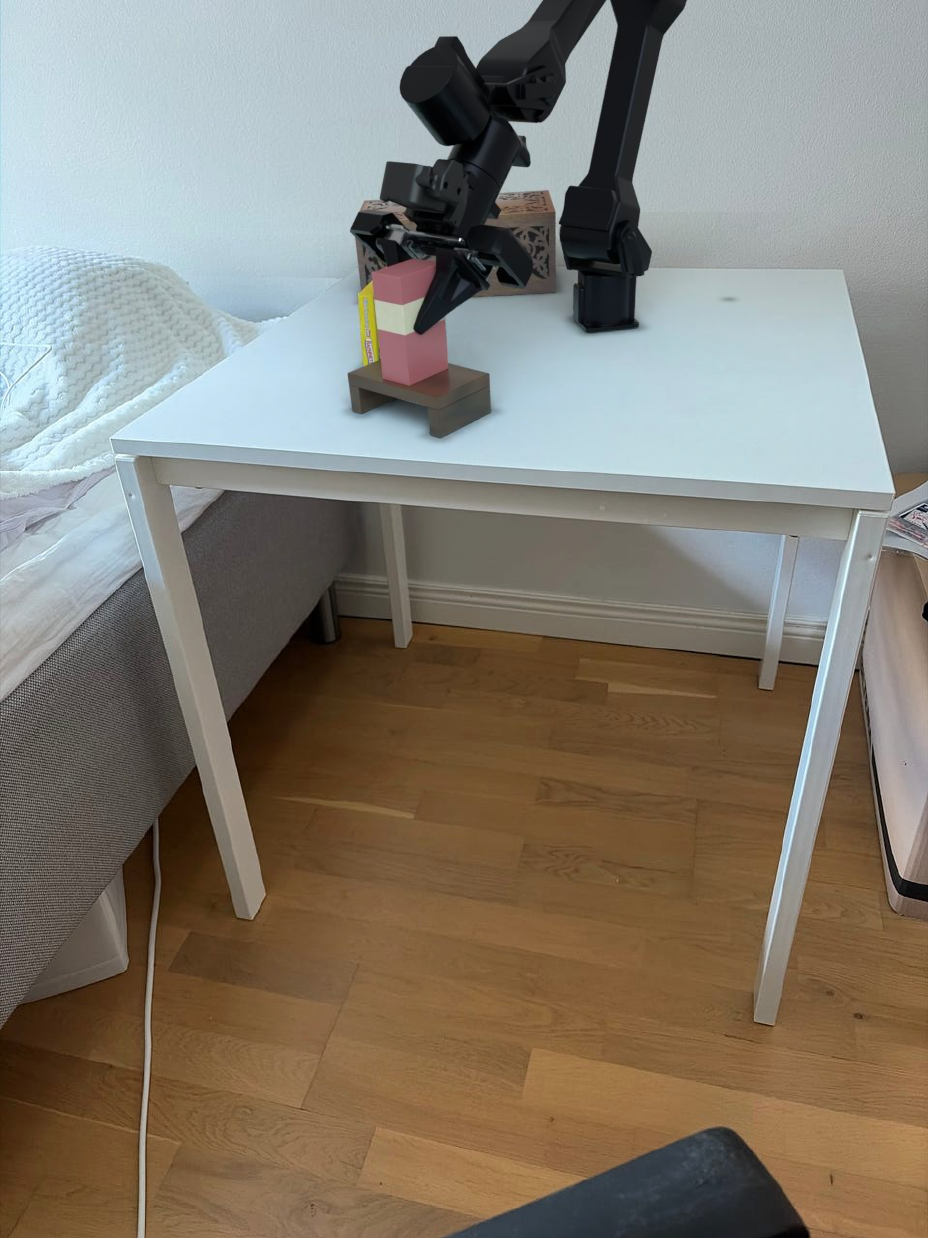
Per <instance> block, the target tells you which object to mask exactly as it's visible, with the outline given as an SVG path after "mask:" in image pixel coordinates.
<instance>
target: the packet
mask: <svg viewBox="0 0 928 1238" xmlns="http://www.w3.org/2000/svg"><path fill="white" fill-rule="evenodd" d="M435 272H436V262H432V261H426V260H420V259H414V258H413V259H410V260H407V261H404V262H401V263H398V264H395V265H392V266H389V267H386V268H383V269H380V270H377V271H374V272H372V282H373V291H374V303H375V312H376V322H377V329H378V339H379V348H380V357H381V367H382V376H383V379H385V380H389V381H393V382H396V383H400V384H404V385H407V386H411V385H413V384H415V383H418V382H420V381H422V380H424V379H426V378H429V377H431V376H433V375H435V374H437V373H440V372H442V371H444V370H446V369H448V363H449V355H448V341H447V340H448V338H447V324H446V316H445V317H444V318H442V319H441V320H440V321H439V322H437V323H436V324H435V325H434V326H432V327H431V328H430V329H429V330H427V331H426V332H425V333H424V334H422V335H420V334H417V333H416V332H415V331H414V329H413V327H414V324H415V321H416V318H417V315H418V312H419V310H420V307H421V305H422V303H423V300H424V298H425V296H426V293H427V291H428V289H429V287H430V284H431V282H432V280H433V277H434V275H435Z"/></svg>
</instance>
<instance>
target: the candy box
mask: <svg viewBox="0 0 928 1238" xmlns="http://www.w3.org/2000/svg"><path fill="white" fill-rule="evenodd" d="M357 302H358V303H357V304H358V305H357V306H358V316H359V318H358V319H359V331H360V344H361V355H362V367H363V366H366V365H368V364H371V363H373V362H375V361H378V360H380V359H381V357H380V348H379V339H378V329H377V322H376V312H375V303H374V291H373V282H372V281H371V282H370V283H369V284H368V285H367V286H366V287H365V288H364V289H363V290H362V291H361V290H360V291H359V292H358V294H357Z"/></svg>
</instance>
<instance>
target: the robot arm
mask: <svg viewBox="0 0 928 1238" xmlns="http://www.w3.org/2000/svg"><path fill="white" fill-rule="evenodd" d="M687 1H688V0H609V2H610V6H611V9H612V12H613V15H614V19H615V23H616V33H615V36H614V37H615V38H614V42H613V48H612V53H611V57H610V62H609V66H608V67H609V68H608V71H607V78H606V82H605V89H604V92H603V98H602V104H601V108H600V113H599V118H598V123H597V128H596V132H595V137H594V143H593V148H592V152H591V158H590V163H589V168H588V170H587V174H586V175H585V176H584V177H583V179H582V180H581V181H580V183H579V184H578V185H569V186H568V187H567V189H566V190H565V193H564V199H563V200H564V202H563V209H562V213H561V216H560V218H559V220H558V225H559V226H560V227H559V235H558V236H559V242H560V246H561V250H562V255H563V259H564V264H565V268H566V270H567V271H577V282H574V283H573V286H572V288H573V289H572V318H573V320H575V321H576V322H577V324H578V325H579V326H580V327H581V328H582V329H583V331H584V332H585V333H597V332H605V331H606V332H607V331H615V330H616V331H617V330H624V329H633V328H639V327H640V322H639V321H638V320H637V319H636V317H635V316H636V298H637V297H636V295H637V277H643V276H645V272H647V271H648V270H649V267H650V264H651V259H652V254H653V250H652V248H651V247H650V245H649V244H648V242H647V240H646V238H645V237H644V235H643V234H642V232H641V230H640V228H639V224H640V223H639V222H640V215H641V206H640V203H639V201H638V197H637V193H636V190H635V187H634V183H633V181H634V174H635V170H636V165H637V160H638V155H639V151H640V146H641V142H642V137H643V132H644V128H645V123H646V118H647V114H648V108H649V105H650V99H651V95H652V91H653V90H652V89H653V86H654V80H655V76H656V71H657V66H658V62H659V58H660V53H661V47H662V44H663V40H664V36H665V34H666V33H667V32H668V31H669V29H670V28H671V27H672V25H673V24H674V23H675V22H676V20H677V19H678V18H679V16H680V15H681V13H683V11H684V9H685V8H686V5H687ZM606 2H607V0H541V2H540V3H539V5H538V6H537V7H536V8H535V9H536V10H535V11H534V12H533V14H532V15H531V16H530V18H529V20H528V21H527V22H526V23H525V24H523V26H521V27H520V28H519V29H518V30H516V31H514V32H512V33H510V34H508V35H506V36H505V37H503V38H501V39H500V40H498V41H497V43H495V44H494V45H493V46H492V48H490V49H489V50H488V51H487V52H486V53H485V54H484V55H483V56H482V57H481V59H480V60H479V61H478V63H477V65H476V66H475V65H474V63H473V62H472V60H471V59H470V57H469V55H468V54H467V52H466V49H465V47H464V45H463V43H462V41H461V40H460V38H459V37H458V35H449V36H448V35H445V36H444V35H443V36H442V35H441V36H438V38H437V40H436V41H435V43H434V46H432V47H430V48H429V49H427V50H425V51H424V52H422V53H421V54H419V55H418V56H417V57H416V58H415V59H414V60H413V61H412V62H411V64H409V65H408V66H406V67H405V69H404V70H403V72H402V75H401V78H400V81H399V94H400V96H401V98H402V99H403V100H404V102H405V103H406V104H407V106H408V107H409V108H410V109H411V111H412V112H413V113H414V115H415V116H416V117H417V118H418V120H419V121H420V122H421V124H422V125H423V127H424V128H425V129H426V130H427V131H428V133H429V134H430V135H431V137H432V138H433V139H434V140H435V142H436V143H438V144H439V145H441V146H443V147H451V146H452V148H451V150H450V152H449V154H448V156H447V158H446V159H445V158H438V159H436V161H435V163H434V164H433V165H432V166H431V165H423V164H420V163H415V162H414V163H412V162H402V161H401V162H400V161H392V160H391V161H390V160H388V161H386V162H385V167H384V173H383V177H382V183H381V187H380V194H379V200H382V201H384V202H388V201H391V202H393V203H396V204H398V205H400V206H403V207H405V208H406V210H405V212H404V215H405V216H406V217H407V219H408V220H409V221H410V222H414V223H415V224H416V225H417V226H416V231H413V230H409V229H408V228H406V227H405V226H404V225H403V224H402V223H401V221H400V220H399V219H398V218H397V217H396V216H395V215H394V214H393V213H392V212H384V211H377V210H369V209H367V210H364V211H360V210H359V211H360V212H359V211H358V212H357V214H356V216H355V218H354V220H353V222H352V225H351V226H350V228H349V233H350V234H351V235H352V236H353V237H354V238H355V237H356V238H357V239H358V240H359V241H360V242H361V243H362V244H363V245H364V246H365V247H366V248H367V249H368V250H369V251H370V252H371V253H372V254H373V255H374V256H375V257H376V258H377V259H378V260H379V261H380V262H382V263H384V264H385V265H387V267H389V266H392V265H395V264H398V263H401V262H404V261H407V260H410V259H413V258H414V259H420V260H421V257H422V255H423V254H425V255H431V256H436V272H435V275H434V277H433V280H432V282H431V284H430V287H429V289H428V291H427V293H426V296H425V298H424V300H423V303H422V305H421V307H420V310H419V312H418V315H417V318H416V321H415V324H414V327H413V329H414V331H415V332H416V333H417V334H420V335H422V334H424V333H425V332H426V331H427V330H429V329H430V328H431V327H432V326H434V325H435V324H436V323H437V322H439V321H440V320H441V319H442V318H444V317H445V318H446V317H447V316H448V315H449V314H450V313H451V312H453V311H454V310H455V309H457V308H458V307H459V306H461V305H462V304H464V303H465V302H467V301H468V300H469V299H471V298H474V297H473V296H474V295H476V294H477V293H478V292H480V291H482V290H484V291H488V290H489V288H490V284H489V283H488V281H487V280H488V277H489V275H490V273H491V271H492V269H496V267H497V266H499V268H498V270H497V272H496V275H497V278H498V281H499V283H500V284H501V285H502V286H507V287H513V288H519V289H524V288H525V287H526V285H527V283H528V281H529V279H530V277H531V274H532V272H533V260H532V257H531V255H530V254H529V253H528V251H527V250H526V249H525V247H524V246H523V245H522V244H521V242H520V241H519V240H518V238H517V237H516V236H515V234H514V233H513V232H512V231H511V229H510V228H505V227H497V226H489V225H485V223H486V221H487V218H488V219H496V220H497V218H498V216H499V214H500V212H501V209H500V208H499V206H498V205H497V204H496V202H495V201H496V199H497V197H498V195H499V193H501V190H502V188H503V187H504V184H505V183H506V180H507V178H508V176H509V174H510V171H511V169H512V167H518V168H530V166H531V163H532V161H531V154H530V151H529V149H528V145H527V137H526V136H525V135H518V133H517V132H516V130H515V129H514V127H513V126H512V124H511V123H529V124H538V123H540V124H542V123H544V122H545V121H546V120H547V119H548V118H549V117H550V116H551V114H552V112H553V110H554V108H555V107H556V104H557V102H558V100H559V98H560V97H561V94H562V93H563V90H564V88H565V86H566V84H567V72H566V71H567V69H566V65H567V62H568V59H569V58H570V55H571V54H572V52H573V51H574V49H575V48H576V46H577V45H578V43H579V42H580V40H581V39H582V37H583V36H584V35H585V33H586V31H587V30H588V28H589V27H590V26H591V24H592V23H593V21H594V20H595V18H596V17H597V15H598V14H599V12H600V11H601V9H602V8H603V6H604V5H605V3H606Z"/></svg>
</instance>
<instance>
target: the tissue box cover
mask: <svg viewBox="0 0 928 1238" xmlns="http://www.w3.org/2000/svg"><path fill="white" fill-rule="evenodd" d="M495 202H496V204H497V205H498V206H499V208H500V209H501V212H500V214H499V216H498V218H497V220H496V219H488V218H487V221H486V223H485V225H489V226H497V227H505V228H510V229H511V231H512V232H513V233H514V234H515V236H516V237H517V238H518V240H519V241H520V242H521V244H522V245H523V246H524V247H525V249H526V250H527V251H528V253H529V254H530V255H531V257H532V260H533V272H532V274H531V277H530V279H529V281H528V283H527V285H526V287H525V288H524V289H519V288H513V287H507V286H502V285H501V284H500V283H499V281H498V278H497V275H496V272H497V270H498V268H499V266H497V267H496V269H492V271H491V273H490V275H489V277H488V280H487V281H488V283H489V284H490V288H489V290H488V291H484V290H482V291H480V292H478V293H477V294H476V295H474V296H473V297H472V298H474V297H475V298H476V297H477V298H478V297H494V296H495V297H496V296H512V295H513V296H514V295H532V294H533V295H534V294H535V295H536V294H554V293H557V292H556V291H557V290H556V289H557V283H556V280H557V274H556V273H557V268H556V266H557V261H556V260H557V259H556V258H557V257H556V255H557V254H556V253H557V252H556V251H557V249H556V248H557V246H556V244H557V243H556V239H557V238H556V237H557V233H556V230H557V229H556V228H557V226H556V225H557V222H556V221H557V220H556V217H557V216H556V215H557V214H556V213H557V212H556V209H555V206H554V203H553V199H552V196H551V193H550V191H549V189H545V190H543V189H542V190H527V191H525V190H524V191H511V192H510V191H509V192H500V193H499V195H498V197H497V199H496V201H495ZM367 209H369V210H377V211H384V212H392V213H393V214H394V215H395V216H396V217H397V218H398V219H399V220H400V221H401V223H402V224H403V225H404V226H405V227H406V228H408V229H409V230H413V231H416V226H417V225H416V224H415V223H414V222H410V221H409V220H408V219H407V217H406V216H405V215H404V212H405V210H406V208H405V207H403V206H400V205H398V204H396V203H393V202H391V201H388V202H384V201H382V200H380V199H367V200H364V201H363V202H362V205H361V207H360V209H359V211H358V212H360V211H364V210H367ZM354 240H355V249H356V258H357V265H358V266H357V267H358V274H359V275H358V276H359V284H360V292H361V291H362V290H363V289H364V288H365V287H366V286H367V285H368V284H369V283H370V282H371V281H372V272H374V271H377V270H380V269H383V268H386V267H387V265H385V264H384V263H382V262H380V261H379V260H378V259H377V258H376V257H375V256H374V255H373V254H372V253H371V252H370V251H369V250H368V249H367V248H366V247H365V246H364V245H363V244H362V243H361V242H360V241H359V240H358V239H357V238H356V237H355V236H354ZM421 260H426V261H432V262H436V256H431V255H425V254H423V255H422V257H421Z"/></svg>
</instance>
